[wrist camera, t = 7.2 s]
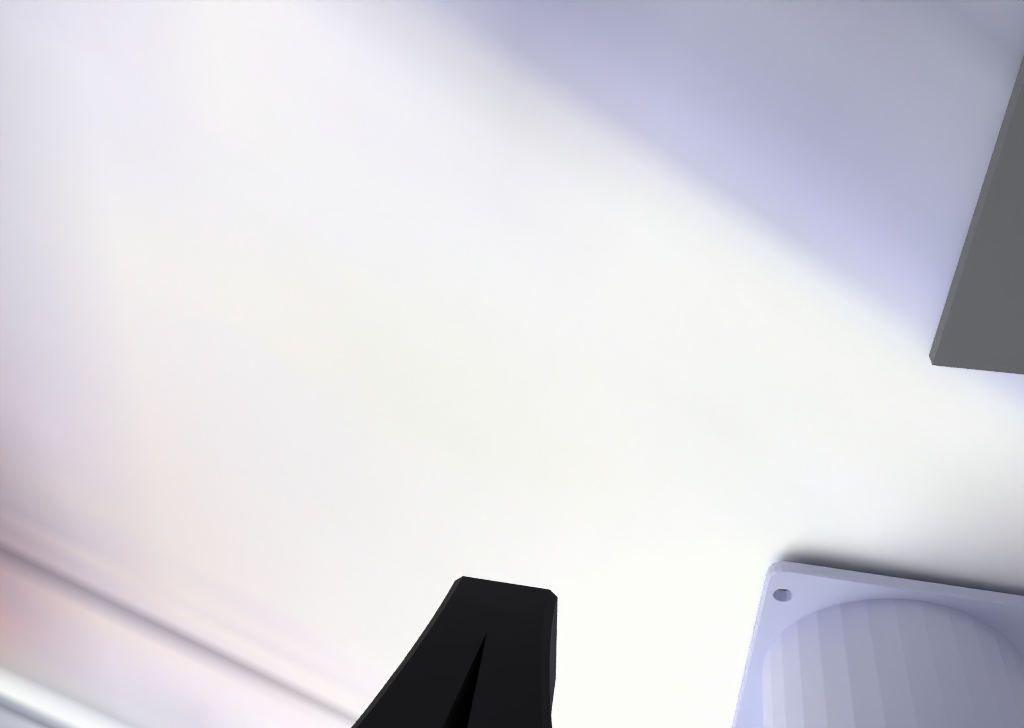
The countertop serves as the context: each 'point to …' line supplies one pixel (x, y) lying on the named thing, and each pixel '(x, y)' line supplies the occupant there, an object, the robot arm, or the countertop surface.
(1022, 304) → the mat
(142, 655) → the countertop surface
